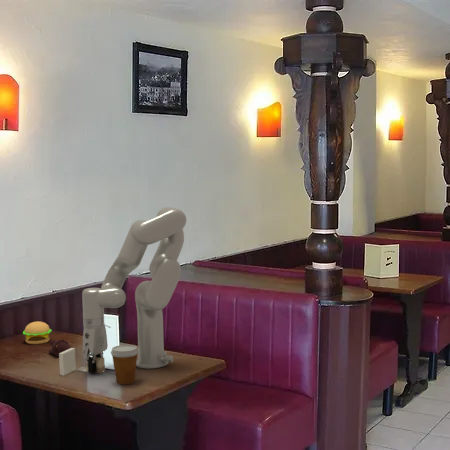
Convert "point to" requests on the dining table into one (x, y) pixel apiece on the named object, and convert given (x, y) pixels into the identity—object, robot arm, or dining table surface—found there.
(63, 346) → the icecream
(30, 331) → the hamburger
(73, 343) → the dining table surface
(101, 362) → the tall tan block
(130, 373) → the disposable coffee cup
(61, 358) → the tile
